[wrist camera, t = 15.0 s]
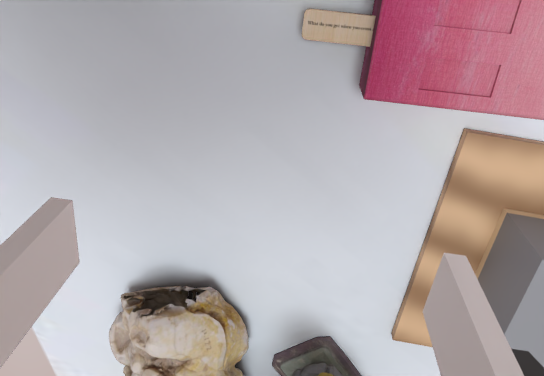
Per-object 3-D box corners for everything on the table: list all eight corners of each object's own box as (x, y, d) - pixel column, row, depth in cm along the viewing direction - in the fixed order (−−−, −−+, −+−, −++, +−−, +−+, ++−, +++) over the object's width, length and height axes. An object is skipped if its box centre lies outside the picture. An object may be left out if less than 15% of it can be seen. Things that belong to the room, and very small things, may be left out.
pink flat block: (310, -42, 31) (613, -11, 30) (311, -42, 35) (576, -14, 34) (294, 92, 35) (560, 123, 34) (297, 78, 39) (533, 105, 38)
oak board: (464, 128, 39) (467, 132, 38) (626, 155, 39) (633, 160, 38) (391, 333, 50) (392, 340, 49) (517, 356, 50) (521, 363, 49)
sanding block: (503, 208, 41) (542, 259, 34) (558, 217, 41) (609, 271, 34) (463, 301, 46) (489, 363, 39) (512, 310, 46) (547, 374, 39)
